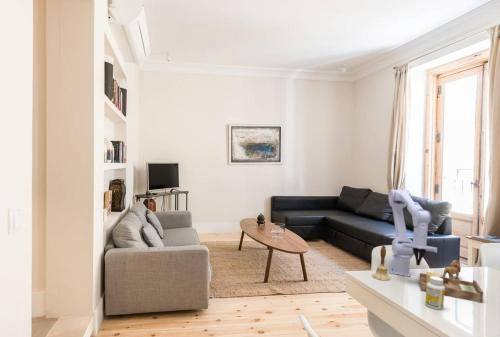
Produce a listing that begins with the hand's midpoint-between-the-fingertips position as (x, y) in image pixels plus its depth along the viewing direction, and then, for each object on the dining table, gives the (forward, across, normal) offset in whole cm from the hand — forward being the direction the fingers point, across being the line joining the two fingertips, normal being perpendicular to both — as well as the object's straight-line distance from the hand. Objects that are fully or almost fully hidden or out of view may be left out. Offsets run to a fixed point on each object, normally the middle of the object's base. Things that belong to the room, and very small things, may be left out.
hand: (417, 264), depth 156 cm
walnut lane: (+9, +12, 0) cm, 16 cm away
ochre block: (+7, +6, 0) cm, 10 cm away
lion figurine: (+10, +16, +19) cm, 27 cm away
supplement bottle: (+10, +6, -24) cm, 26 cm away
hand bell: (+10, -16, 0) cm, 18 cm away
